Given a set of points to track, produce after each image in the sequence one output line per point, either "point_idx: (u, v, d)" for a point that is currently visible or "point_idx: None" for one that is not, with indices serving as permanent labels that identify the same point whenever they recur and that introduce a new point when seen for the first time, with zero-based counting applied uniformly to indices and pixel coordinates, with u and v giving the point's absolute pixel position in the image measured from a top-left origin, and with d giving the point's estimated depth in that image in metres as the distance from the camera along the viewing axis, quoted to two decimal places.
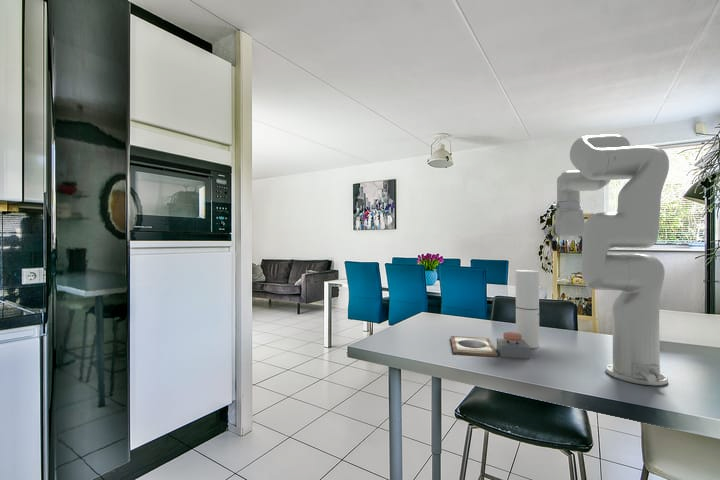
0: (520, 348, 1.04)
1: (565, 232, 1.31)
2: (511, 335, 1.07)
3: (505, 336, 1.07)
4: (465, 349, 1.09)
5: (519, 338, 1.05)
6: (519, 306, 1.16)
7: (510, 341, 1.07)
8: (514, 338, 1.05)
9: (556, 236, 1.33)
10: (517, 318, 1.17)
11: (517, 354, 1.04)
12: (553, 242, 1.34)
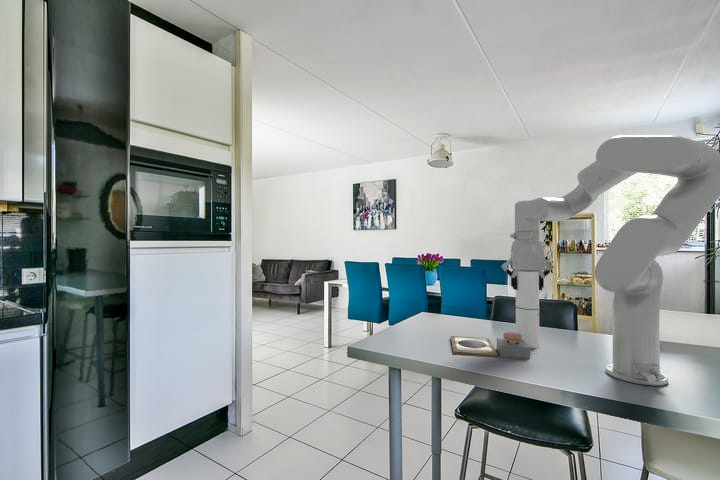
0: (520, 348, 1.04)
1: (523, 266, 1.15)
2: (511, 335, 1.07)
3: (505, 336, 1.07)
4: (465, 349, 1.09)
5: (519, 338, 1.05)
6: (519, 306, 1.16)
7: (510, 341, 1.07)
8: (514, 338, 1.05)
9: (515, 272, 1.17)
10: (517, 318, 1.17)
11: (517, 354, 1.04)
12: (513, 279, 1.17)
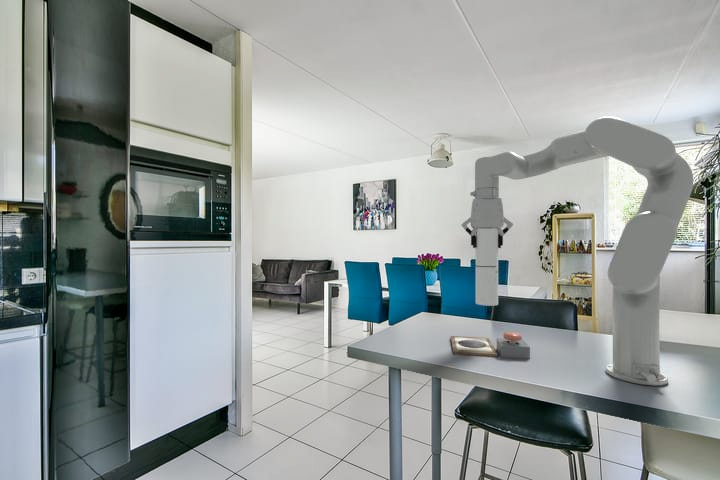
0: (520, 348, 1.04)
1: (481, 223, 1.14)
2: (511, 335, 1.07)
3: (505, 336, 1.07)
4: (465, 349, 1.09)
5: (519, 338, 1.05)
6: (478, 264, 1.15)
7: (510, 341, 1.07)
8: (514, 338, 1.05)
9: (474, 230, 1.15)
10: (476, 276, 1.16)
11: (517, 354, 1.04)
12: (472, 237, 1.16)
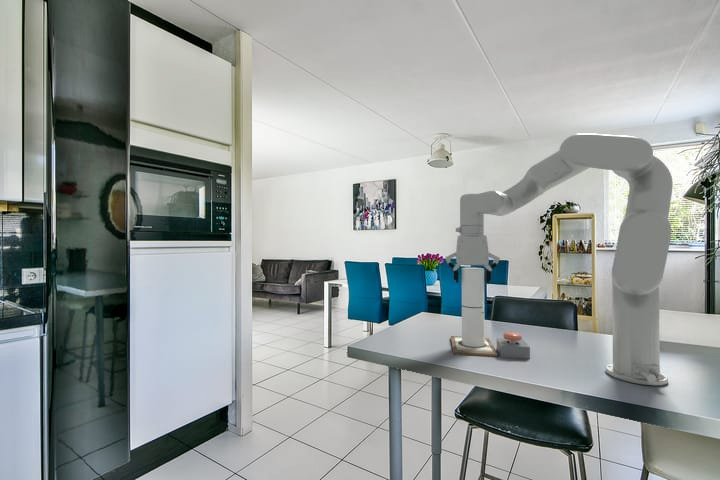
0: (520, 348, 1.04)
1: (466, 261, 1.13)
2: (511, 335, 1.07)
3: (505, 336, 1.07)
4: (465, 349, 1.09)
5: (519, 338, 1.05)
6: (464, 304, 1.14)
7: (510, 341, 1.07)
8: (514, 338, 1.05)
9: (457, 265, 1.15)
10: (462, 317, 1.15)
11: (517, 354, 1.04)
12: (454, 272, 1.16)
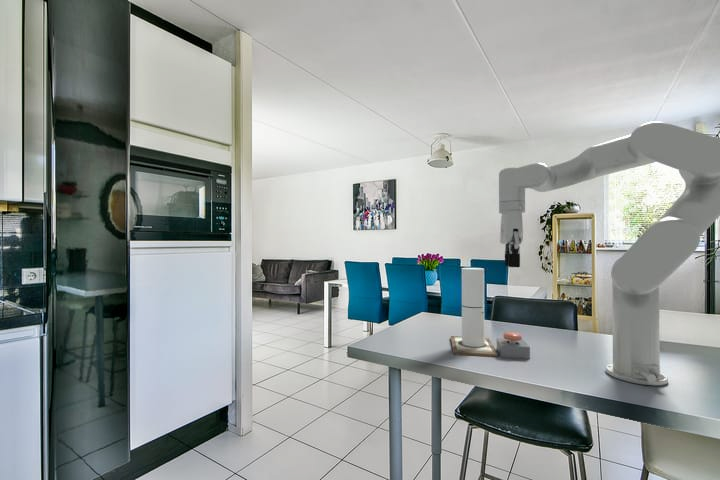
0: (520, 348, 1.04)
1: (501, 239, 1.10)
2: (511, 335, 1.07)
3: (505, 336, 1.07)
4: (465, 349, 1.09)
5: (519, 338, 1.05)
6: (464, 304, 1.14)
7: (510, 341, 1.07)
8: (514, 338, 1.05)
9: (505, 247, 1.11)
10: (462, 317, 1.15)
11: (517, 354, 1.04)
12: None
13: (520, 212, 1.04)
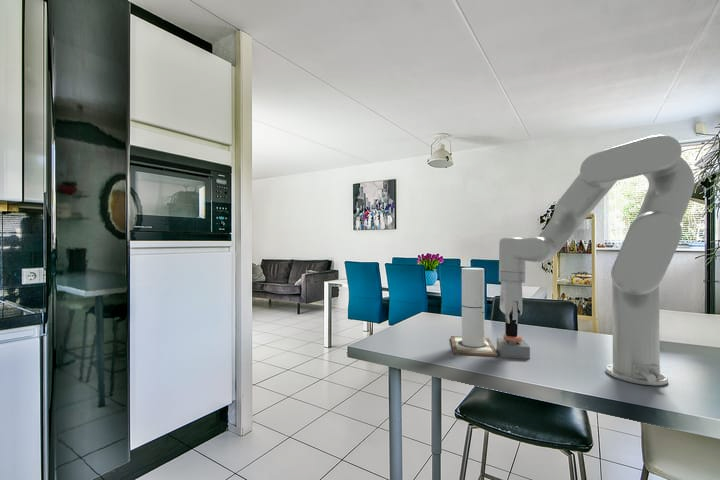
0: (520, 348, 1.04)
1: (500, 306, 1.10)
2: (511, 337, 1.07)
3: (505, 338, 1.07)
4: (465, 349, 1.09)
5: (519, 340, 1.05)
6: (464, 304, 1.14)
7: (510, 343, 1.07)
8: (514, 340, 1.05)
9: None
10: (462, 317, 1.15)
11: (517, 354, 1.04)
12: None
13: (520, 284, 1.04)
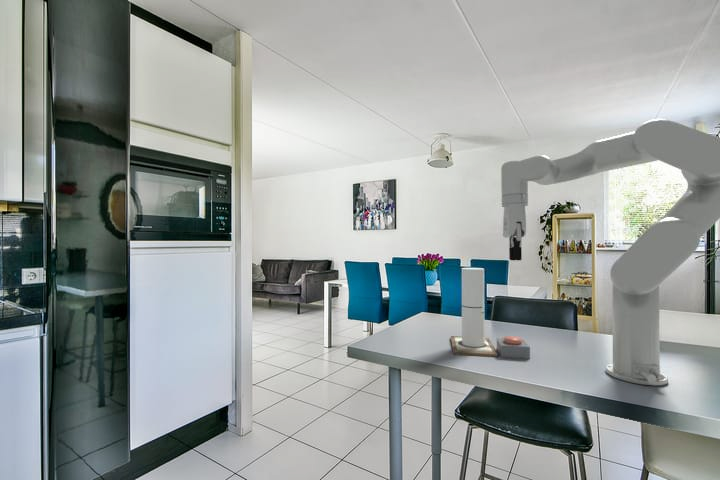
0: (520, 348, 1.04)
1: (504, 233, 1.10)
2: (511, 339, 1.07)
3: (505, 340, 1.07)
4: (465, 349, 1.09)
5: (519, 342, 1.05)
6: (464, 304, 1.14)
7: None
8: (514, 342, 1.05)
9: (509, 241, 1.10)
10: (462, 317, 1.15)
11: (517, 354, 1.04)
12: None
13: (523, 205, 1.04)
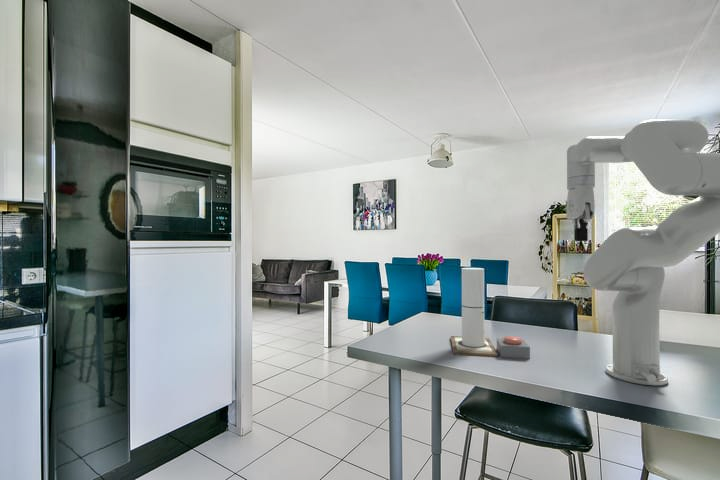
0: (520, 348, 1.04)
1: (568, 215, 1.13)
2: (511, 339, 1.07)
3: (505, 340, 1.07)
4: (465, 349, 1.09)
5: (519, 342, 1.05)
6: (464, 304, 1.14)
7: None
8: (514, 342, 1.05)
9: (574, 222, 1.12)
10: (462, 317, 1.15)
11: (517, 354, 1.04)
12: None
13: (591, 186, 1.06)
